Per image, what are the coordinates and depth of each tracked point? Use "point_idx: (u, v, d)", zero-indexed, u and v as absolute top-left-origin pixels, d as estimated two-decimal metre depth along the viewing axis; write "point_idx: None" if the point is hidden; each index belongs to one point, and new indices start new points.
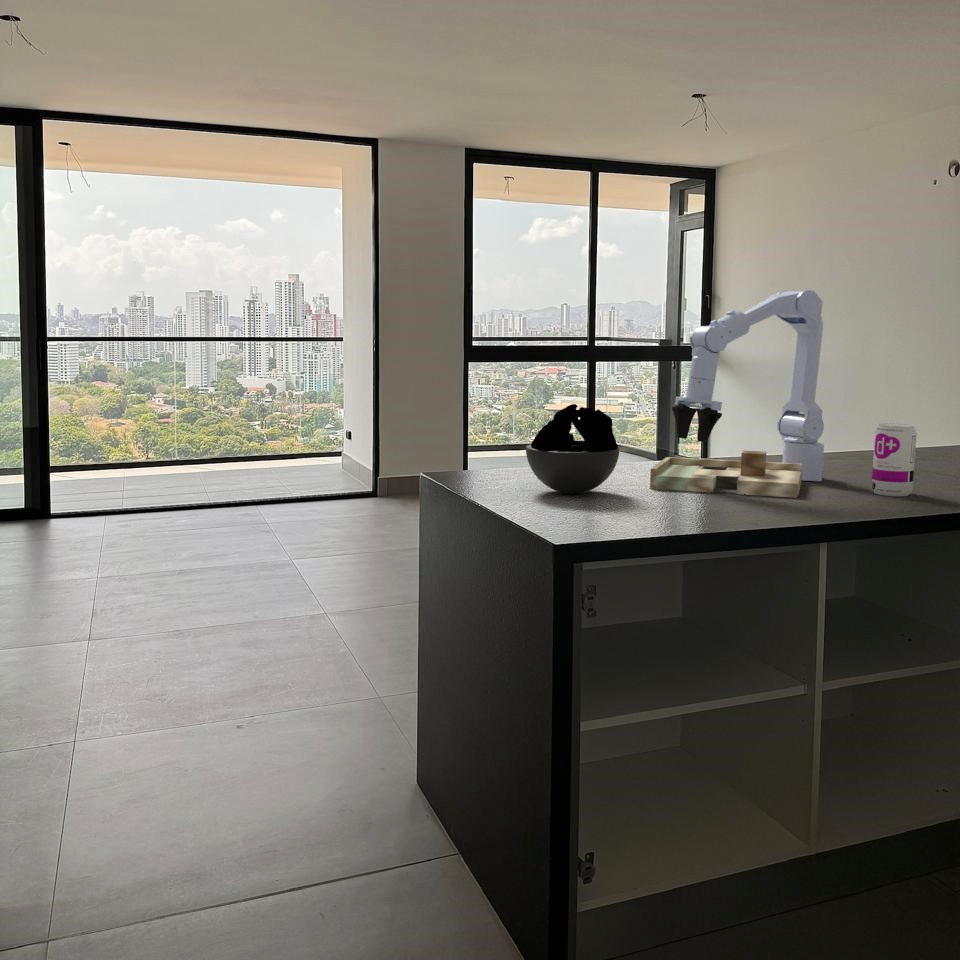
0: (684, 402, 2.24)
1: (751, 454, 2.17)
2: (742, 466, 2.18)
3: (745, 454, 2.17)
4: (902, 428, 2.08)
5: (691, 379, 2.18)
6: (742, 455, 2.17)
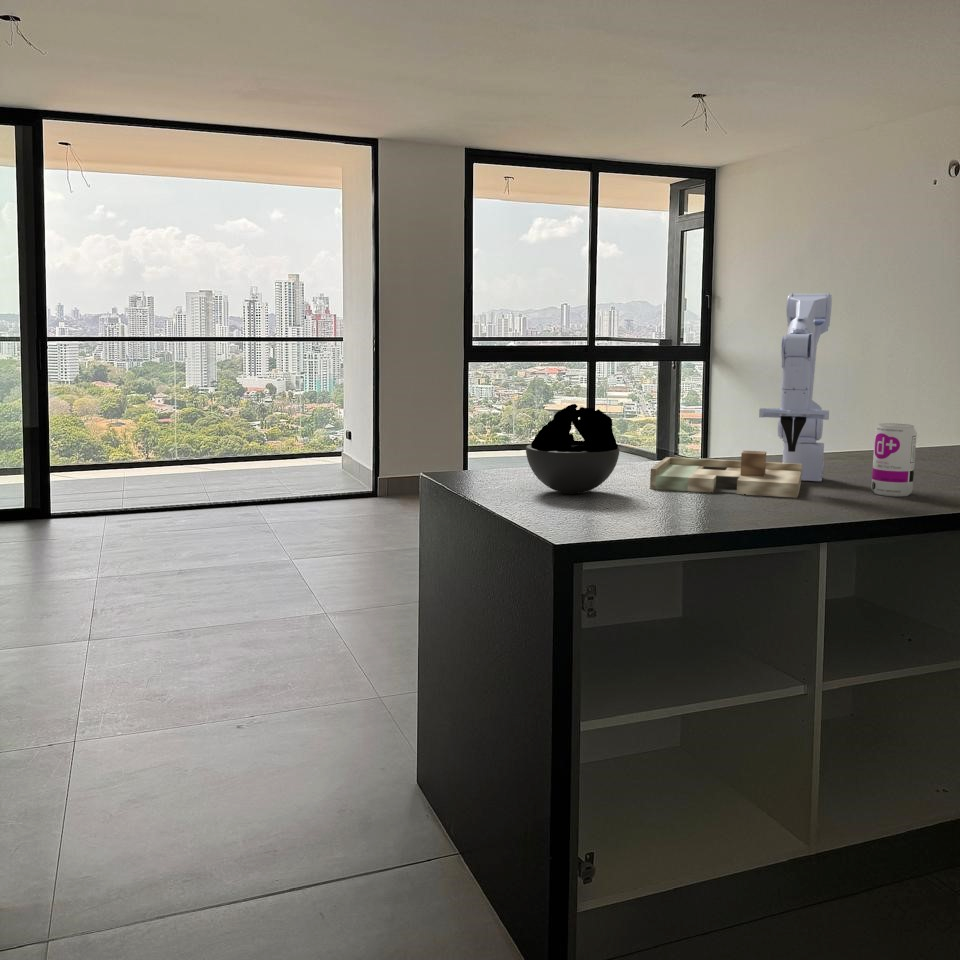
0: (771, 413, 2.16)
1: (751, 454, 2.17)
2: (742, 466, 2.18)
3: (745, 454, 2.17)
4: (902, 428, 2.08)
5: (794, 391, 2.11)
6: (742, 455, 2.17)
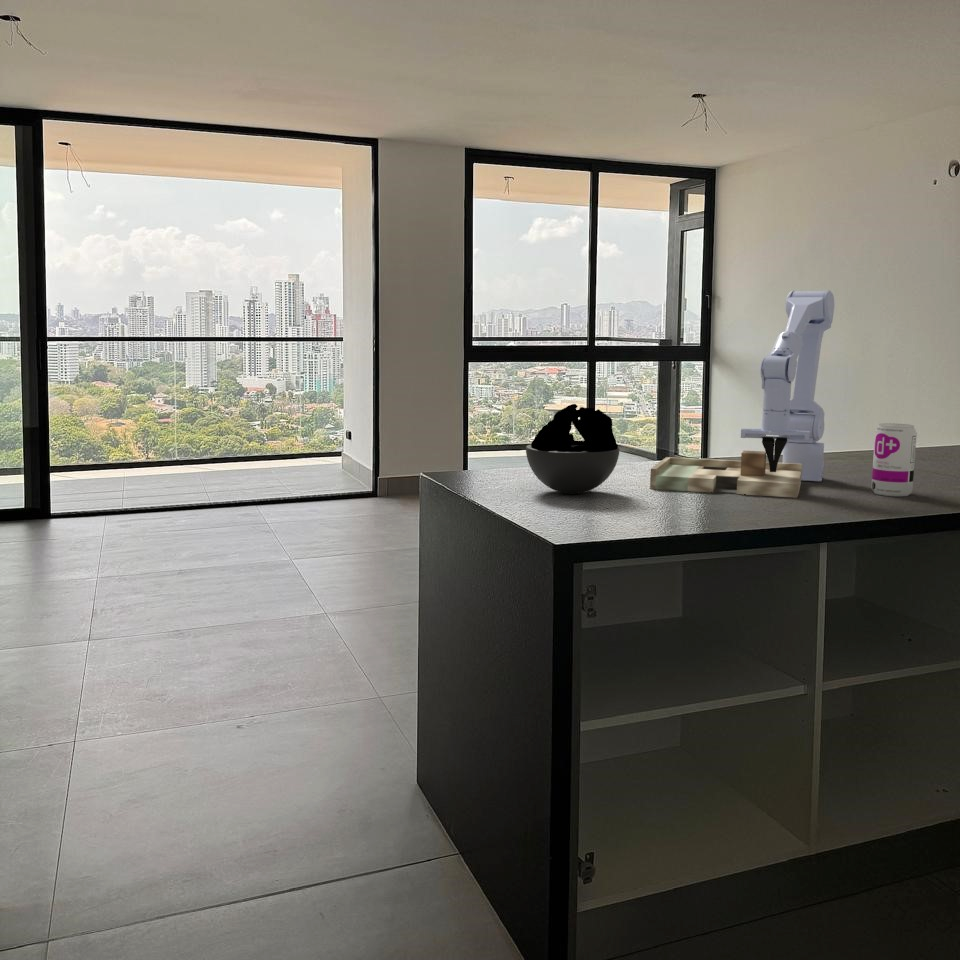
0: (752, 434, 2.18)
1: (751, 454, 2.17)
2: (742, 466, 2.18)
3: (745, 454, 2.17)
4: (902, 428, 2.08)
5: (775, 412, 2.13)
6: (742, 455, 2.17)
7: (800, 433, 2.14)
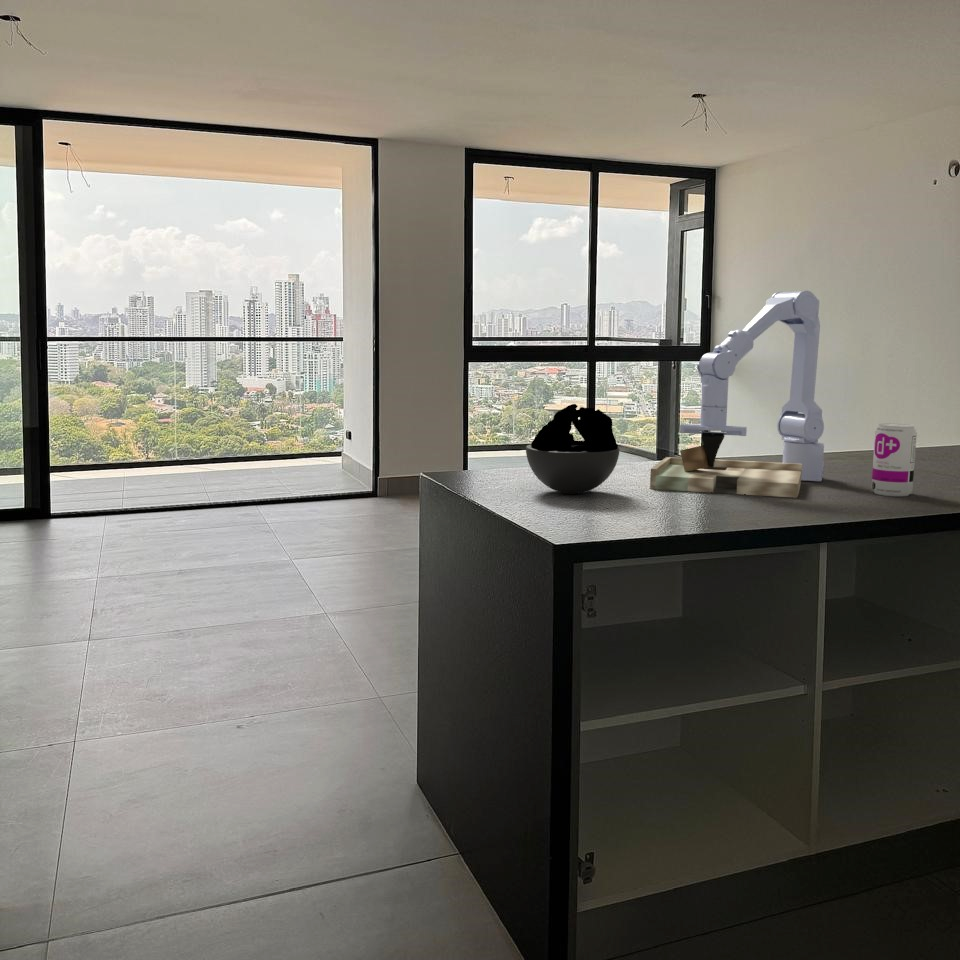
0: (691, 429, 2.22)
1: (688, 449, 2.22)
2: (684, 463, 2.23)
3: (683, 450, 2.23)
4: (902, 428, 2.08)
5: (712, 408, 2.18)
6: (681, 452, 2.23)
7: (737, 429, 2.18)
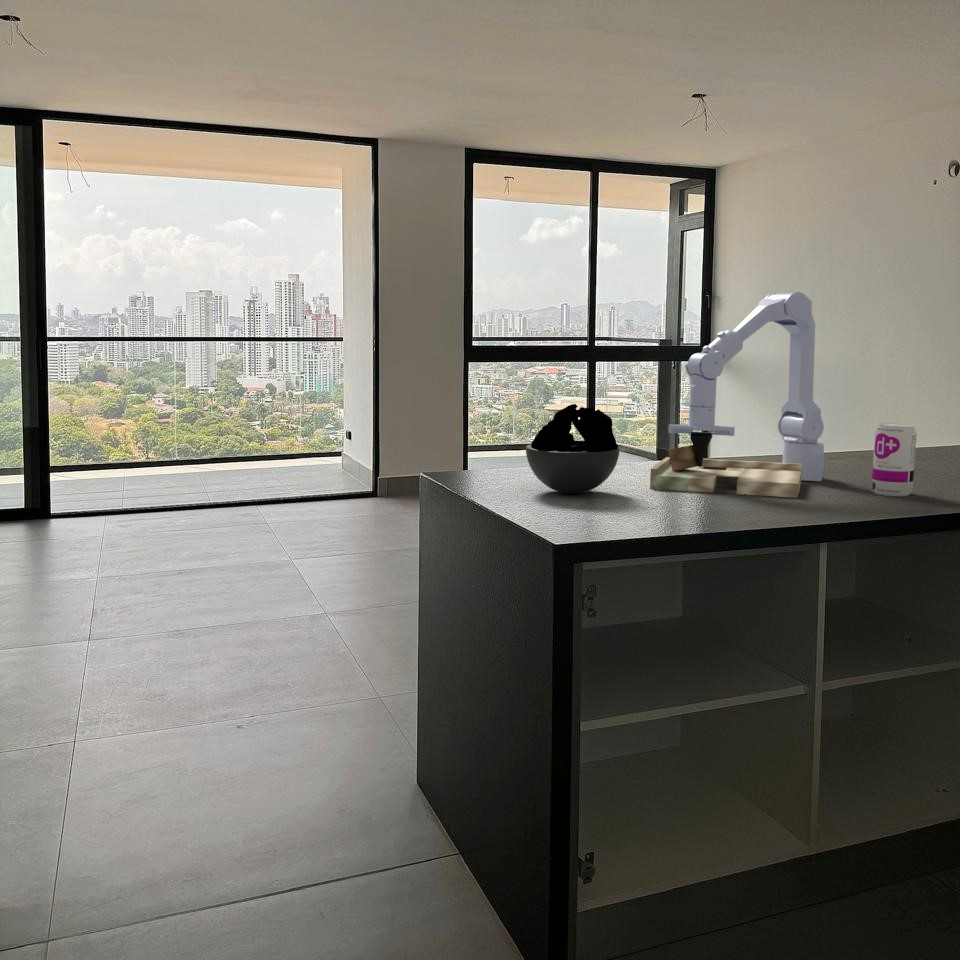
0: (680, 429, 2.23)
1: (676, 448, 2.23)
2: (672, 462, 2.24)
3: (671, 450, 2.24)
4: (902, 428, 2.07)
5: (701, 408, 2.19)
6: (669, 451, 2.24)
7: (725, 428, 2.19)
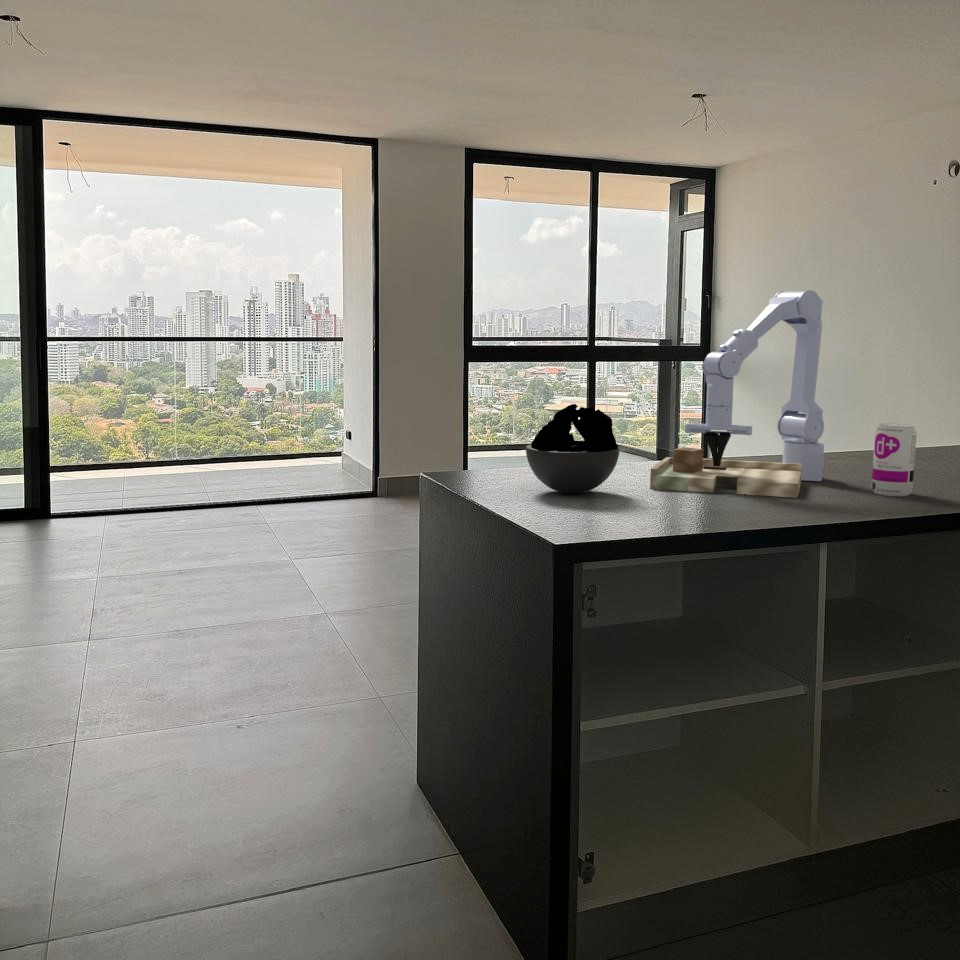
0: (697, 429, 2.22)
1: (682, 451, 2.22)
2: (674, 462, 2.24)
3: (677, 450, 2.23)
4: (902, 428, 2.08)
5: (718, 408, 2.17)
6: (674, 451, 2.23)
7: (742, 428, 2.18)
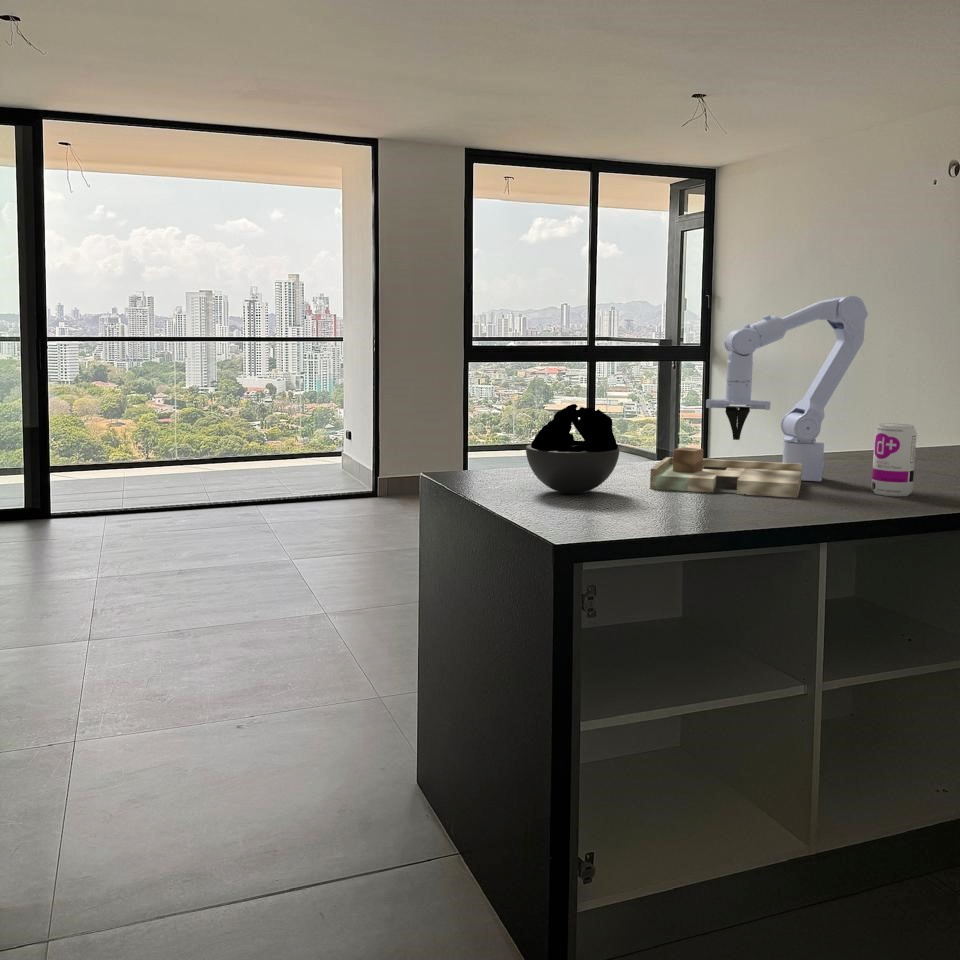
0: (717, 404, 2.32)
1: (682, 451, 2.22)
2: (674, 462, 2.24)
3: (677, 450, 2.23)
4: (902, 428, 2.08)
5: (738, 383, 2.27)
6: (674, 451, 2.23)
7: (761, 403, 2.27)
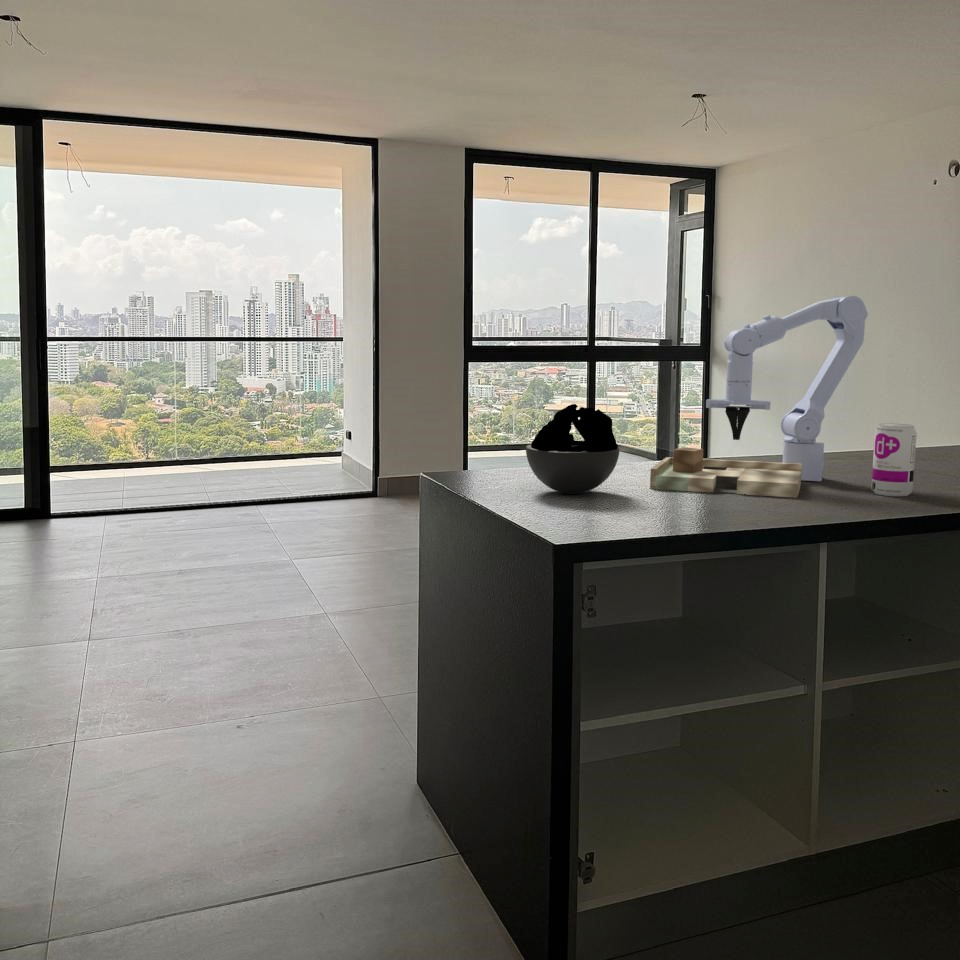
0: (717, 404, 2.32)
1: (682, 451, 2.22)
2: (674, 462, 2.24)
3: (677, 450, 2.23)
4: (902, 428, 2.08)
5: (738, 383, 2.27)
6: (674, 451, 2.23)
7: (761, 403, 2.27)
